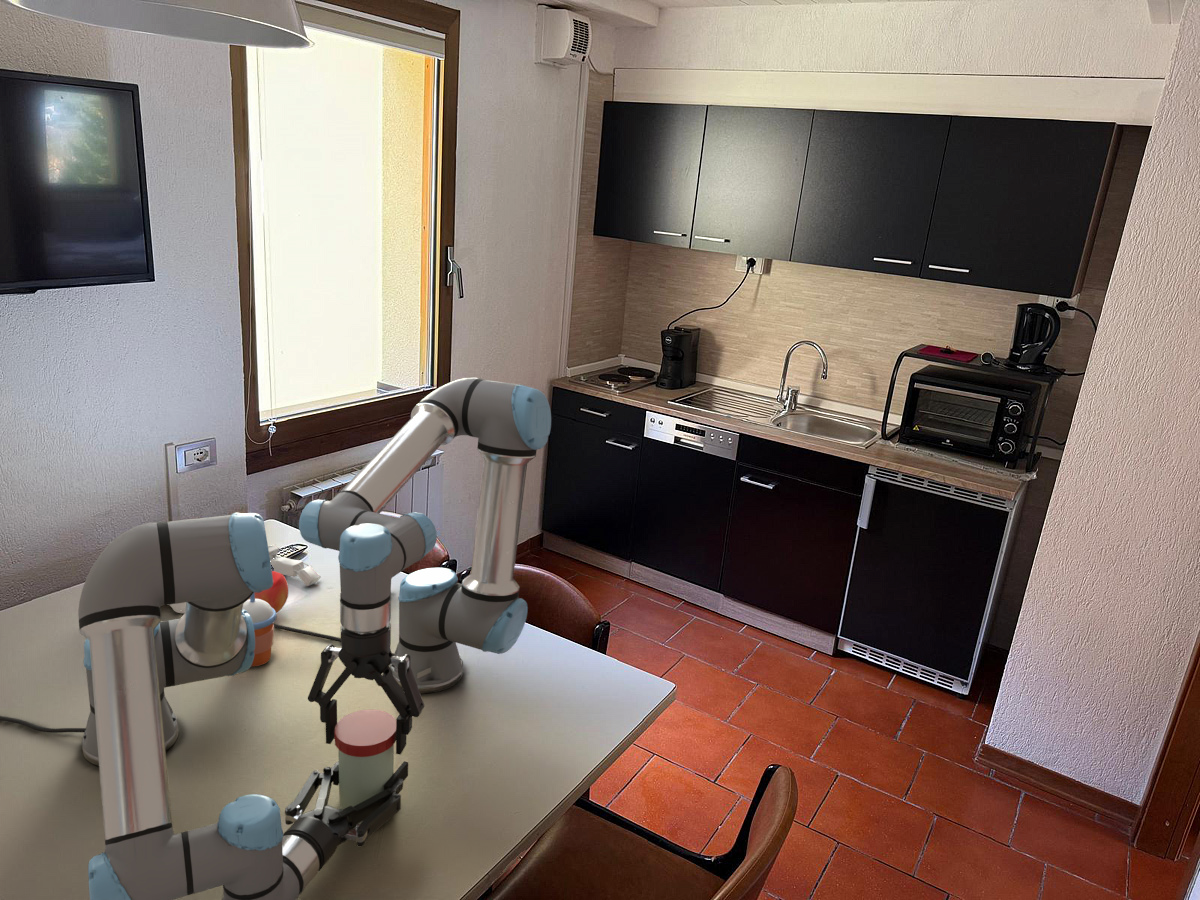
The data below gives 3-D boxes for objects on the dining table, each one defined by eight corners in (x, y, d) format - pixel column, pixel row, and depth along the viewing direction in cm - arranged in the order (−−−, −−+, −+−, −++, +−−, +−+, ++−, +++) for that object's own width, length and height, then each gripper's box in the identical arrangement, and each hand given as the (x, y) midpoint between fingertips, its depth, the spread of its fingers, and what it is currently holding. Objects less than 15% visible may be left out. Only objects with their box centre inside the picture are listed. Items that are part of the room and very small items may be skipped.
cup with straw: (262, 673, 177) (258, 595, 172) (223, 666, 179) (218, 588, 174) (286, 652, 186) (283, 577, 181) (248, 645, 187) (244, 570, 182)
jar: (377, 835, 137) (377, 752, 133) (329, 822, 139) (327, 740, 135) (402, 800, 145) (403, 720, 141) (356, 788, 147) (355, 709, 143)
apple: (273, 600, 207) (272, 562, 204) (297, 613, 202) (296, 575, 199) (237, 614, 200) (234, 575, 197) (261, 628, 194) (259, 588, 191)
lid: (402, 720, 143) (402, 710, 142) (391, 758, 134) (391, 747, 133) (342, 718, 142) (342, 707, 142) (327, 756, 133) (327, 745, 132)
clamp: (253, 565, 223) (254, 542, 221) (265, 560, 226) (266, 537, 224) (309, 593, 215) (310, 569, 213) (320, 588, 218) (321, 564, 216)
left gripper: (238, 855, 128) (326, 764, 148) (365, 896, 122) (438, 796, 143) (235, 813, 125) (325, 727, 146) (364, 854, 120) (439, 758, 141)
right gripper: (446, 621, 134) (443, 740, 141) (304, 602, 137) (307, 720, 143) (431, 645, 127) (429, 769, 134) (281, 624, 130) (286, 747, 136)
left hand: (381, 761), depth 145 cm, fingers closed on jar, 9 cm apart
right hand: (366, 743), depth 138 cm, fingers open, 11 cm apart
